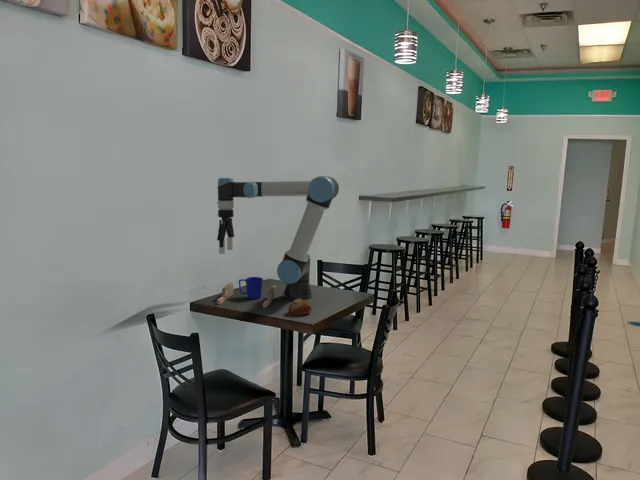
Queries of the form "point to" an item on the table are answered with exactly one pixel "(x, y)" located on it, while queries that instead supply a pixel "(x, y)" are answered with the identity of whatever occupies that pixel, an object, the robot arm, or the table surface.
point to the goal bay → (223, 300)
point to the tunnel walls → (228, 291)
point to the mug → (253, 287)
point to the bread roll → (299, 307)
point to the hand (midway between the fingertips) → (226, 251)
